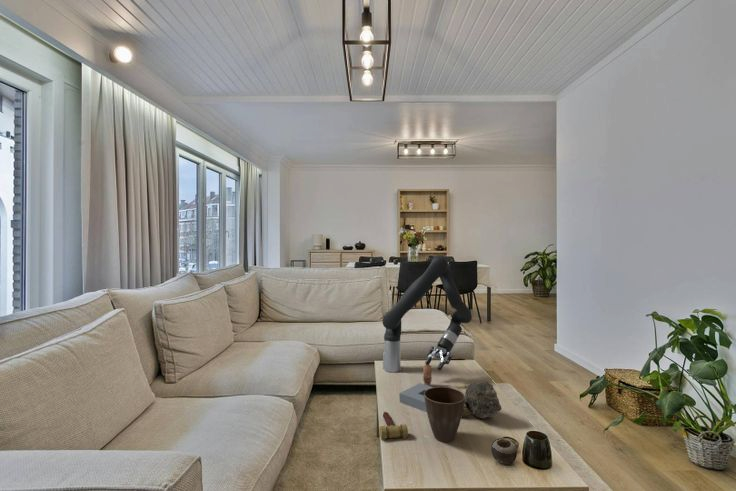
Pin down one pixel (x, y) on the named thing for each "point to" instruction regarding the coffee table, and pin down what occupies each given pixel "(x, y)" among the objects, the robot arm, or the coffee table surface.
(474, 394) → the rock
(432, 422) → the plant pot
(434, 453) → the coffee table surface
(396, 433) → the gavel
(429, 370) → the cherry peg
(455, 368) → the coffee table surface
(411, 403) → the slate socket board
